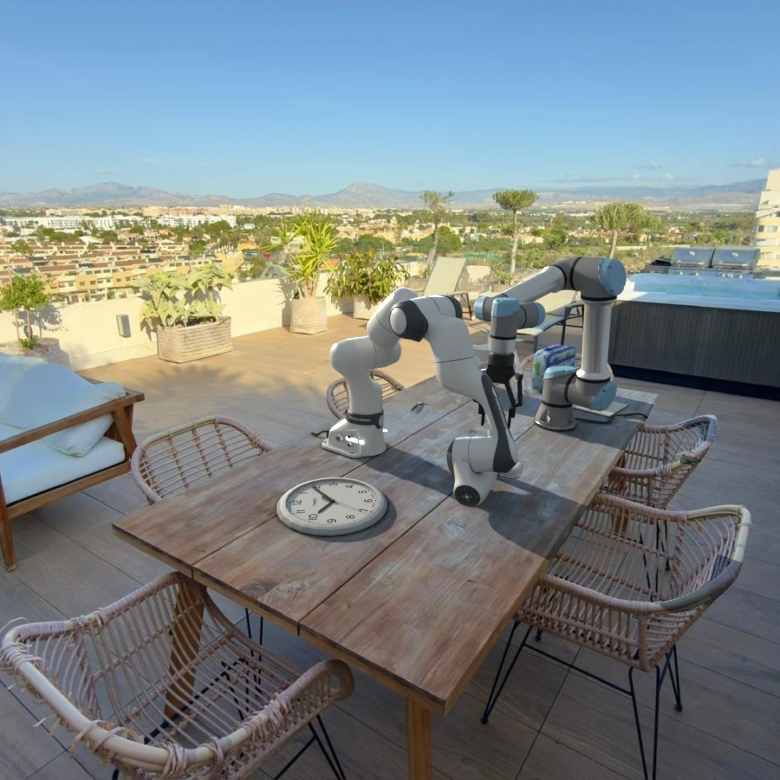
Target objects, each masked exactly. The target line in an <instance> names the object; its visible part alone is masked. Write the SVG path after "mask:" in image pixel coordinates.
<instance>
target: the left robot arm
mask: <svg viewBox="0 0 780 780" xmlns="http://www.w3.org/2000/svg"><path fill="white" fill-rule="evenodd" d="M463 315H464V312H463V308H462V304H461V302H460V301H459V299H457V298H456V297H454V296H453V295H452V296H451V295H449V294H448V295H447V294H438V295H423V296H419V295H418V294H417V293H416V291H414V290H413V289H411V288H408V287H398V288H396V289H395V290H393V291H391V293H390V294H389V295H387V297H386V298H385V299H384V300H383V301H381V303H380V305H379V306H378V307H377V309H376V310H375V311H374V313H373V314H372V315H371V317H370V319H369V320H368V321H367V323H366V333H367V335H365V336H358V337H350V338H345V339H342V340H340V341H337V342H335V343H333V345H332V346H331V347H330V350H329V354H328V356H329V357H328V358H329V362H330V365H331V366H332V368H333V370H335V372H337V373H339V374H340V375H341V376H342V377H343V379H344V380H345V383H346V384H347V387H348V397H349V401H348V402H349V406H348V407H347V408H346V409H345V410H344V411H342V416H344V415H345V416H344V418H342V419H341V420H340V421H338V422H337V423H335V424H334V425H333V426H332V427H330V428H328V429H323V430H320V431H319V432H318V433H317V432H316V433H315V432H311V433H310V434H311V435H313V436H317V437H318V436H320V435H322V434H324V433H325V435H326V436H325V439H324V440H323V441H322V443H321V449H324V450H327V451H329V452H333V453H335V454H339V455H341V456H344V457H349V458H352V459H359V458H364V457H374V456H377V455H381V454H383V453H385V452H386V451H387V448H388V447H387V444H386V439H385V433H384V432H386V433H387V432H388V429H386V428H385V429H384V422H385V415H384V413H385V409H384V408H383V400H384V399H383V398H384V397H383V393H384V390H383V388H382V385H381V384H380V383H379V382H378V381H376V380H374V379H372V378H371V374H370V373H371V370H376V369H383V368H387V367H390V366H392V365H393V364H396V363H398V362H399V360H400V359H401V356H402V345H401V343H400V340H401V339H403V340H409V341H413V342H416V343H420V342H422V341H423V340H426V341H427V342H428V343H429V345H430V348H431V353H432V360H433V367H434V373H435V376H436V379H437V382H438V383H439V384H440V385H441V386H442V387H443V388H444V389H445V390H446V391H449V392H450V393H453V394H456V395H460V396H464V397H467V398H470V399H472V400H473V399H475V400H476V401H478V402H479V403H480V404H481V405H482V407H483V409H484V411H485V418H486V420H487V424H488V423H489V426H490V429H491V432H492V435H487V434H486V435H475V436H473V435H469V436H459V437H457V436H456V437H455V438H453V440H452V441H451V442H450V444H449V446H448V448H447V450H446V463H447V468H448V471H449V473H450V474H451V476H452V477H453V479H454V486H453V497H454V499H455V501H457V502H458V503H459V504H460V505H461V506H463V507H464V506H465V507H468V508H474V507H477V506H479V505H481V504H482V503H483V502H484V501H485V500H486V498H487V497H488V495H489V494H490V492H491V490H492V488H493V487H494V485H495V483H496V481H497V479H502V480H506V481H516V480H519V479H521V477H522V474H523V472H524V462H523V461H522V460H519V450H518V447H517V444H516V442H515V439H514V437H513V435H512V432H511V430H510V429H509V427H508V420H507V418H506V414H505V415H504V412H505V411H504V409H503V406H502V403H501V400H500V397H499V395H498V392H497V389H496V387H495V383H493V382H492V380H491V378H490V377H489V376H488V375H485V374H483V373H482V371H481V370H480V369H479V367H478V365H477V362H476V359H475V354H474V348H473V347H474V344H473V340H472V337H471V333H470V331H469V328H468V325H467V323H466V322H465V320H463V317H464V316H463ZM503 411H504V412H503Z"/></svg>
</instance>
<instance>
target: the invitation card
mask: <svg viewBox="0 0 780 780" xmlns="http://www.w3.org/2000/svg"><path fill="white" fill-rule="evenodd" d="M628 406H629V404H627V403H623V402H618V401H614V400H613V402H612V403H611V405H610V406H609V407H608V408H607V409H606V410H604V411H595V410H590V409H587V408H584V407H581V406H577V405H575V406H574V407H573V409H575V410H581V411H584V412H587V413H593V414H596V415H600V416H604V417H608V418H610V417H611V416H613V415H615V414H616V413H617V412H619V411H621V410H623V409H624V408H626V407H628Z"/></svg>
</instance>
